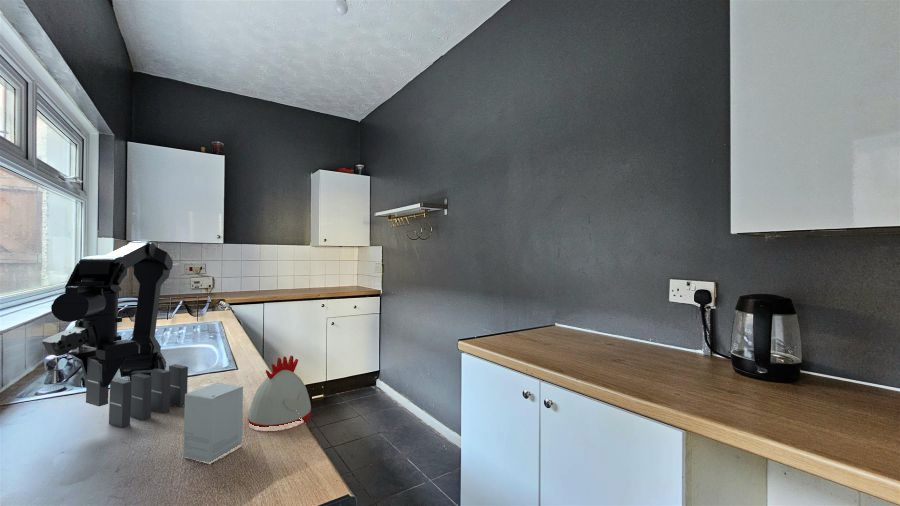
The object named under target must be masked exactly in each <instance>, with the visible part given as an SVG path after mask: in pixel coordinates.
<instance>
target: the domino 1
mask: <svg viewBox="0 0 900 506" xmlns="http://www.w3.org/2000/svg"><path fill="white" fill-rule="evenodd" d="M95 357H97V356H91V357H87V380H86V385H85V387H86V388H85V390H86V392H85V403H86V404H89V405H93V406H96V407H102V406H106V405H108V404H109V393H110V385H109V386H107V387H102V386H101V382H100V374H99V367H98V364H97V363H95V362H94V361H92V360H91V359H90V358H95Z"/></svg>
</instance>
